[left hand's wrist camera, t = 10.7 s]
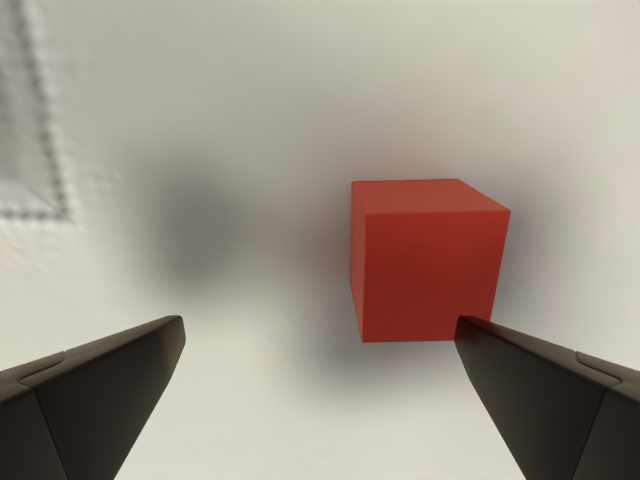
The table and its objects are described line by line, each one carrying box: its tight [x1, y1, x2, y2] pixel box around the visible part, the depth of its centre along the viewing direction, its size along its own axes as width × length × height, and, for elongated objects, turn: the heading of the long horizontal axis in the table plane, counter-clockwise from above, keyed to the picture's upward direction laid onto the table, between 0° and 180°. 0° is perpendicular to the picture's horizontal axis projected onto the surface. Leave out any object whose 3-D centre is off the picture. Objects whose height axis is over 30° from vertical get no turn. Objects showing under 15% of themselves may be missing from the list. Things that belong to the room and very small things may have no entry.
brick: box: [350, 179, 510, 343], centre depth 14 cm, size 5×5×4 cm
